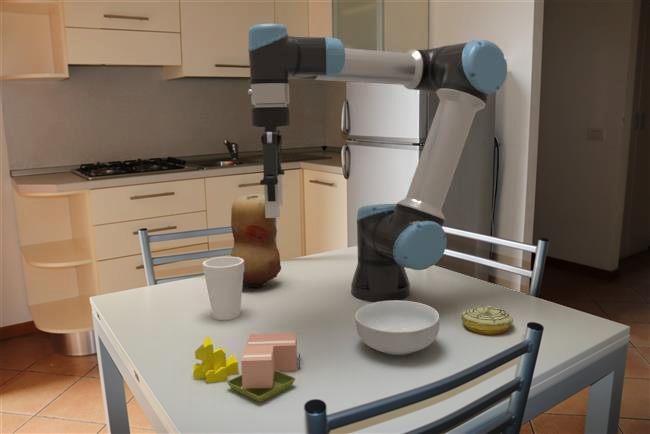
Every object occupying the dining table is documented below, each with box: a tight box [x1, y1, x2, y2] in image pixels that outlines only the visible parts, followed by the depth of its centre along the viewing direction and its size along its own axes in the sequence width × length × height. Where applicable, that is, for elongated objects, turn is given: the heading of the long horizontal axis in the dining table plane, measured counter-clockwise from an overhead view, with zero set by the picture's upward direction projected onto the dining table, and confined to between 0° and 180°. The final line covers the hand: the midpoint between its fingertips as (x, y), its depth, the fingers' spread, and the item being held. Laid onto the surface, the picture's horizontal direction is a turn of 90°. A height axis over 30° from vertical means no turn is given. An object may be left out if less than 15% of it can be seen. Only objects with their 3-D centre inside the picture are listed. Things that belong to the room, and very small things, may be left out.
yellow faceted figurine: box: [192, 335, 240, 384], centre depth 104 cm, size 6×8×8 cm
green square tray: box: [226, 370, 296, 403], centre depth 99 cm, size 9×9×2 cm
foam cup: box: [202, 256, 244, 321], centre depth 133 cm, size 10×9×13 cm
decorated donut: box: [461, 305, 514, 336], centre depth 124 cm, size 10×11×4 cm
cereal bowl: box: [354, 299, 441, 356], centre depth 114 cm, size 17×17×7 cm
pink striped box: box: [246, 332, 301, 372], centre depth 108 cm, size 10×6×5 cm, turn 92°
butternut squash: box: [229, 193, 282, 288], centre depth 154 cm, size 14×13×25 cm
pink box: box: [240, 345, 275, 389], centre depth 98 cm, size 5×6×5 cm
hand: (274, 211), depth 118 cm, fingers open, 13 cm apart
